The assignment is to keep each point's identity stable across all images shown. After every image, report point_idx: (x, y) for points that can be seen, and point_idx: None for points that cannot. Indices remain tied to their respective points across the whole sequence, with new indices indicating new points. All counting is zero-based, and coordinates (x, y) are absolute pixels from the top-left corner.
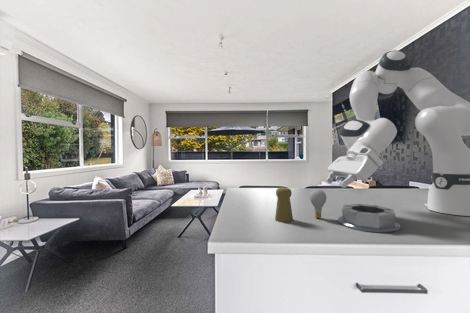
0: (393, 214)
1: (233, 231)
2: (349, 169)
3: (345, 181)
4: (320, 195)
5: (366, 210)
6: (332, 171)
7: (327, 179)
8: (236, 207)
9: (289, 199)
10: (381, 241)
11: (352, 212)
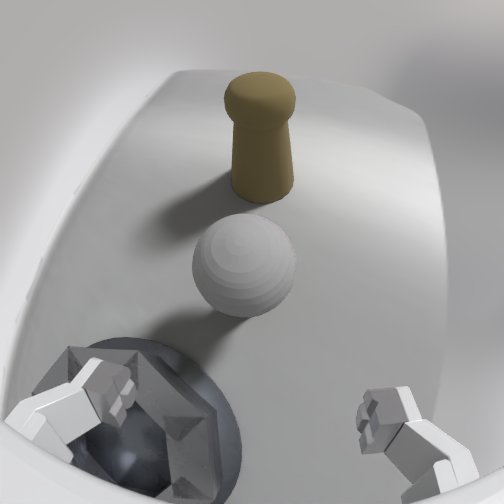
0: None
1: (209, 85)
2: (9, 470)
3: (72, 389)
4: (195, 248)
5: (164, 489)
6: (460, 487)
7: (390, 397)
8: (417, 119)
9: (240, 131)
10: (28, 333)
11: (85, 348)
